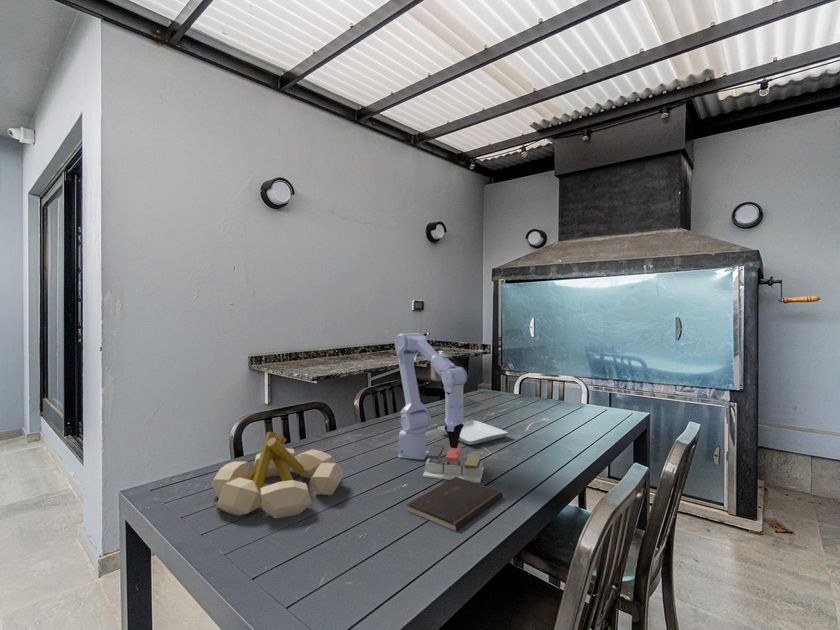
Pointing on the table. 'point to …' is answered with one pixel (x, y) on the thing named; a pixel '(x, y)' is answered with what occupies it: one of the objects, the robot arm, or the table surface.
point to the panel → (452, 470)
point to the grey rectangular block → (435, 453)
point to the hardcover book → (455, 503)
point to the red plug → (453, 455)
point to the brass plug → (472, 461)
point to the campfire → (279, 498)
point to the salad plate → (477, 432)
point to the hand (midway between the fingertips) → (454, 447)
